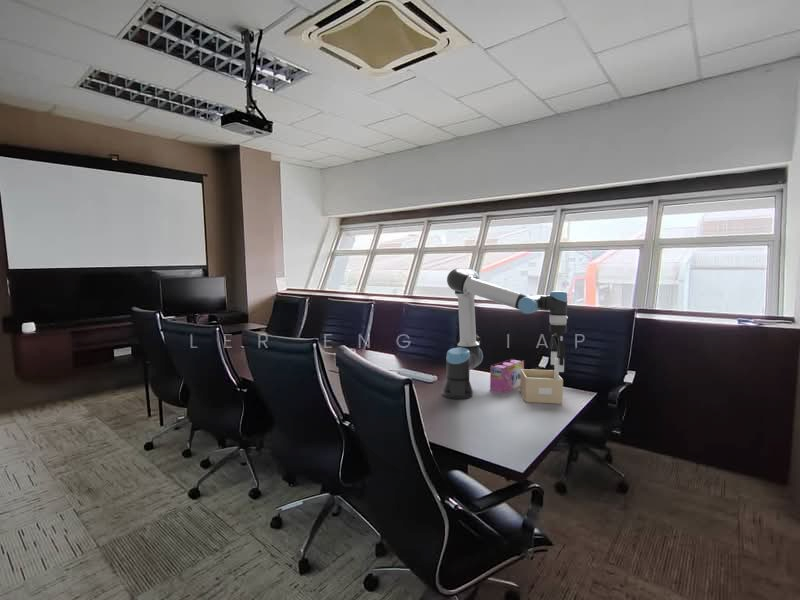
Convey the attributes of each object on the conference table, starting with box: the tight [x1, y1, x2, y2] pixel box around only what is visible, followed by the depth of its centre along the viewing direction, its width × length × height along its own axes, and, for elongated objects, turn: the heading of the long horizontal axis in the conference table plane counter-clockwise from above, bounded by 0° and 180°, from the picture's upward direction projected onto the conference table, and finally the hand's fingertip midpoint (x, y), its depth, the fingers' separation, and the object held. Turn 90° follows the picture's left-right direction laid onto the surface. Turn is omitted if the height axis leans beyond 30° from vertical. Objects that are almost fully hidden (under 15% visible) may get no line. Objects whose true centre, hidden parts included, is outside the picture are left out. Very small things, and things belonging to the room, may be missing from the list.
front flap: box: [525, 358, 564, 405], centre depth 189 cm, size 17×2×22 cm, turn 81°
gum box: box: [489, 358, 525, 394], centre depth 215 cm, size 24×8×14 cm, turn 134°
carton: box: [519, 368, 563, 403], centre depth 198 cm, size 17×17×12 cm
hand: (557, 368), depth 188 cm, fingers open, 13 cm apart
